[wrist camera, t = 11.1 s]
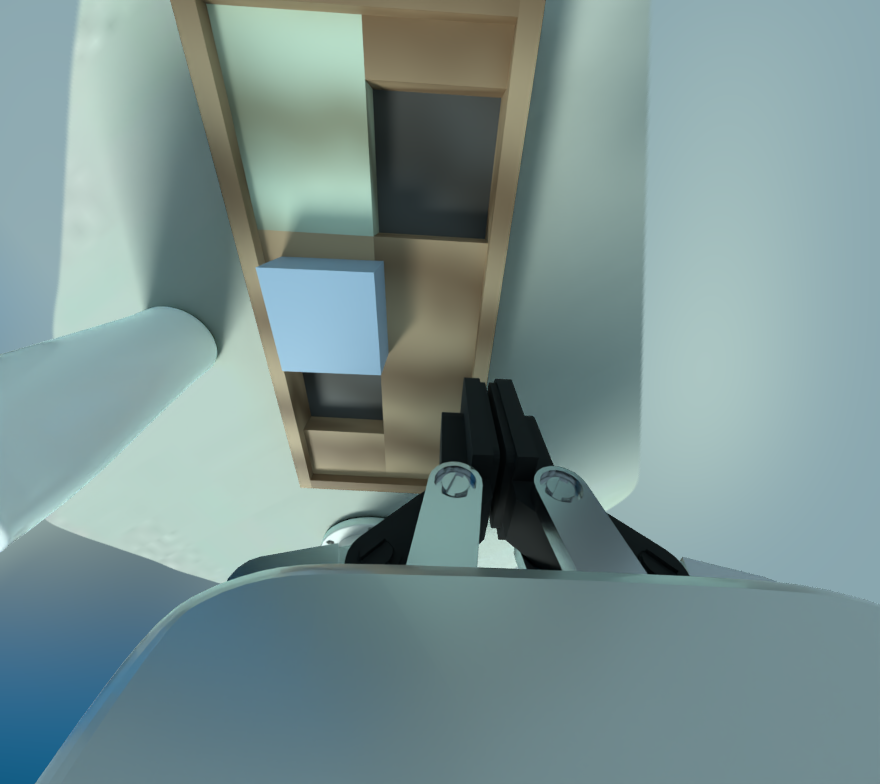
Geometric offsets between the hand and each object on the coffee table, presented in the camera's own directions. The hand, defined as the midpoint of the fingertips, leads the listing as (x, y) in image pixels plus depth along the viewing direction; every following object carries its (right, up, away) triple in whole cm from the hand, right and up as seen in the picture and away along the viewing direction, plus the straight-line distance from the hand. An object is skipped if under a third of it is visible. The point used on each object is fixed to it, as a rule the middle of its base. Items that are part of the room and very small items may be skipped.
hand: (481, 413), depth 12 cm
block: (-8, +6, +9) cm, 13 cm away
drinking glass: (-21, +5, +12) cm, 25 cm away
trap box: (-6, +6, +11) cm, 14 cm away
